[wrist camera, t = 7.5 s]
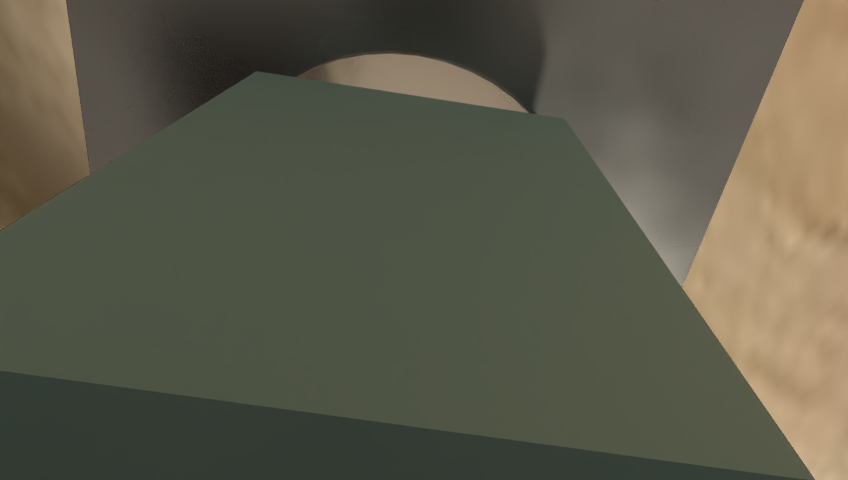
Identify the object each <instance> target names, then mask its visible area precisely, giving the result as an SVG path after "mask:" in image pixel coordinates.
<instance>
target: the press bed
mask: <svg viewBox="0 0 848 480" xmlns="http://www.w3.org/2000/svg"><path fill="white" fill-rule="evenodd" d="M803 1H804V0H66V3H67V10H68V17H69V24H70V31H71V38H72V46H73V53H74V60H75V67H76V74H77V81H78V88H79V96H80V103H81V110H82V117H83V124H84V131H85V138H86V145H87V153H88V160H89V167H90V174H92V173H94V172H95V171H97V170H98V169H100V168H102V167H103V166H105V165H106V164H108V163H110V162H111V161H113V160H114V159H116V158H118V157H119V156H121V155H123V154H124V153H126V152H127V151H129V150H131V149H132V148H134V147H135V146H137V145H139V144H140V143H142V142H143V141H145V140H147V139H148V138H150V137H151V136H153V135H155V134H156V133H158V132H160V131H161V130H163V129H164V128H166V127H168V126H169V125H171V124H172V123H174V122H176V121H177V120H179V119H180V118H182V117H184V116H185V115H187V114H188V113H190V112H192V111H193V110H195V109H197V108H198V107H200V106H201V105H203V104H205V103H206V102H208V101H209V100H211V99H213V98H214V97H216V96H217V95H219V94H221V93H222V92H224V91H225V90H227V89H229V88H230V87H232V86H234V85H235V84H237V83H238V82H240V81H242V80H243V79H245V78H246V77H248V76H250V75H251V74H253V73H254V72H256V71H258V72H265V73H271V74H278V75H284V76H291V77H297V78H304V79H310V80H317V81H323V82H330V83H337V84H343V85H350V86H356V87H363V88H369V89H376V90H382V91H389V92H395V93H402V94H408V95H415V96H421V97H428V98H434V99H441V100H447V101H454V102H460V103H467V104H473V105H480V106H486V107H493V108H499V109H506V110H512V111H519V112H525V113H532V114H538V115H545V116H551V117H558V118H564V119H565V120H566V121H567V123H568V124H569V126H570V127H571V129H572V130H573V131H574V133H575V134H576V136H577V137H578V139H579V140H580V141H581V143H582V144H583V146H584V147H585V149H586V150H587V152H588V153H589V154H590V156H591V157H592V159H593V160H594V162H595V163H596V165H597V166H598V167H599V169H600V170H601V172H602V173H603V175H604V176H605V178H606V179H607V180H608V182H609V183H610V185H611V186H612V188H613V189H614V191H615V192H616V193H617V195H618V196H619V198H620V199H621V201H622V202H623V203H624V205H625V206H626V208H627V209H628V211H629V212H630V214H631V215H632V216H633V218H634V219H635V221H636V222H637V224H638V225H639V227H640V228H641V229H642V231H643V232H644V234H645V235H646V237H647V238H648V240H649V241H650V242H651V244H652V245H653V247H654V248H655V250H656V251H657V252H658V254H659V255H660V257H661V258H662V260H663V261H664V263H665V264H666V265H667V267H668V268H669V270H670V271H671V273H672V274H673V276H674V277H675V278H676V280H677V281H678V283H679V284H680V286H681V287H683V284H684V282H685V279H686V277H687V275H688V272H689V270H690V268H691V265H692V263H693V261H694V258H695V256H696V253H697V251H698V249H699V246H700V244H701V242H702V239H703V237H704V235H705V232H706V230H707V227H708V225H709V223H710V220H711V218H712V216H713V213H714V211H715V209H716V206H717V204H718V201H719V199H720V197H721V194H722V192H723V190H724V187H725V185H726V183H727V180H728V178H729V175H730V173H731V171H732V168H733V166H734V164H735V161H736V159H737V157H738V154H739V152H740V149H741V147H742V145H743V142H744V140H745V138H746V135H747V133H748V131H749V128H750V126H751V124H752V121H753V119H754V116H755V114H756V112H757V109H758V107H759V105H760V102H761V100H762V98H763V95H764V93H765V90H766V88H767V86H768V83H769V81H770V79H771V76H772V74H773V72H774V69H775V67H776V64H777V62H778V60H779V57H780V55H781V53H782V50H783V48H784V46H785V43H786V41H787V38H788V36H789V34H790V31H791V29H792V27H793V24H794V22H795V20H796V17H797V15H798V12H799V10H800V8H801V5H802V3H803Z"/></svg>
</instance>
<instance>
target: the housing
mask: <svg viewBox="0 0 848 480" xmlns="http://www.w3.org/2000/svg"><path fill="white" fill-rule="evenodd" d="M0 480H815V479H814V477H813V476H812V475H811V473H810V472H809V470H808V469H807V467H806V466H805V464H804V463H803V462H802V460H801V459H800V457H799V456H798V454H797V453H796V451H795V450H794V449H793V447H792V446H791V444H790V443H789V441H788V440H787V438H786V437H785V436H784V434H783V433H782V431H781V430H780V428H779V427H778V426H777V424H776V423H775V421H774V420H773V418H772V417H771V415H770V414H769V413H768V411H767V410H766V408H765V407H764V405H763V404H762V402H761V401H760V400H759V398H758V397H757V395H756V394H755V392H754V391H753V389H752V388H751V387H750V385H749V384H748V382H747V381H746V379H745V378H744V376H743V375H742V374H741V372H740V371H739V369H738V368H737V366H736V365H735V364H734V362H733V361H732V359H731V358H730V356H729V355H728V353H727V352H726V351H725V349H724V348H723V346H722V345H721V343H720V342H719V340H718V339H717V338H716V336H715V335H714V333H713V332H712V330H711V329H710V327H709V326H708V325H707V323H706V322H705V320H704V319H703V317H702V316H701V314H700V313H699V312H698V310H697V309H696V307H695V306H694V304H693V303H692V302H691V300H690V299H689V297H688V296H687V294H686V293H685V291H684V290H683V289H682V287H681V286H680V284H679V283H678V281H677V280H676V278H675V277H674V276H673V274H672V273H671V271H670V270H669V268H668V267H667V265H666V264H665V263H664V261H663V260H662V258H661V257H660V255H659V254H658V252H657V251H656V250H655V248H654V247H653V245H652V244H651V242H650V241H649V240H648V238H647V237H646V235H645V234H644V232H643V231H642V229H641V228H640V227H639V225H638V224H637V222H636V221H635V219H634V218H633V216H632V215H631V214H630V212H629V211H628V209H627V208H626V206H625V205H624V203H623V202H622V201H621V199H620V198H619V196H618V195H617V193H616V192H615V191H614V189H613V188H612V186H611V185H610V183H609V182H608V180H607V179H606V178H605V176H604V175H603V173H602V172H601V170H600V169H599V167H598V166H597V165H596V163H595V162H594V160H593V159H592V157H591V156H590V154H589V153H588V152H587V150H586V149H585V147H584V146H583V144H582V143H581V141H580V140H579V139H578V137H577V136H576V134H575V133H574V131H573V130H572V129H571V127H570V126H569V124H568V123H567V121H566V120H565V119H564V118H558V117H551V116H545V115H538V114H532V113H525V112H519V111H512V110H506V109H499V108H493V107H486V106H480V105H473V104H467V103H460V102H454V101H447V100H441V99H434V98H428V97H421V96H415V95H408V94H402V93H395V92H389V91H382V90H376V89H369V88H363V87H356V86H350V85H343V84H337V83H330V82H323V81H317V80H310V79H304V78H297V77H291V76H284V75H278V74H271V73H265V72H258V71H256V72H254V73H253V74H251V75H250V76H248V77H246V78H245V79H243V80H242V81H240V82H238V83H237V84H235V85H234V86H232V87H230V88H229V89H227V90H225V91H224V92H222V93H221V94H219V95H217V96H216V97H214V98H213V99H211V100H209V101H208V102H206V103H205V104H203V105H201V106H200V107H198V108H197V109H195V110H193V111H192V112H190V113H188V114H187V115H185V116H184V117H182V118H180V119H179V120H177V121H176V122H174V123H172V124H171V125H169V126H168V127H166V128H164V129H163V130H161V131H160V132H158V133H156V134H155V135H153V136H151V137H150V138H148V139H147V140H145V141H143V142H142V143H140V144H139V145H137V146H135V147H134V148H132V149H131V150H129V151H127V152H126V153H124V154H123V155H121V156H119V157H118V158H116V159H114V160H113V161H111V162H110V163H108V164H106V165H105V166H103V167H102V168H100V169H98V170H97V171H95V172H94V173H92V174H90V175H89V176H87V177H86V178H84V179H82V180H81V181H79V182H78V183H76V184H74V185H73V186H71V187H69V188H68V189H66V190H65V191H63V192H61V193H60V194H58V195H57V196H55V197H53V198H52V199H50V200H49V201H47V202H45V203H44V204H42V205H41V206H39V207H37V208H36V209H34V210H32V211H31V212H29V213H28V214H26V215H24V216H23V217H21V218H20V219H18V220H16V221H15V222H13V223H12V224H10V225H8V226H7V227H5V228H4V229H2V230H0Z"/></svg>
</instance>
